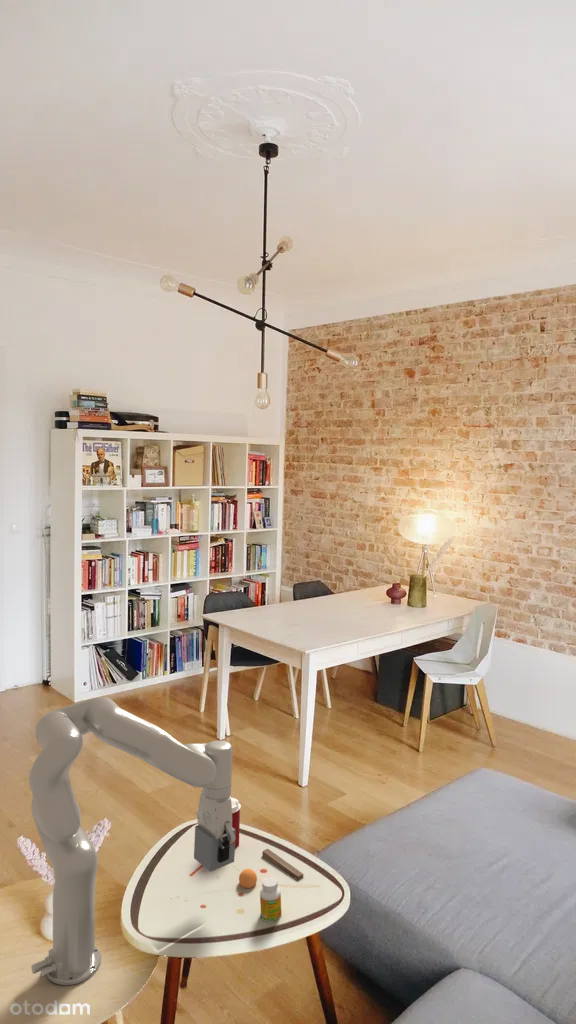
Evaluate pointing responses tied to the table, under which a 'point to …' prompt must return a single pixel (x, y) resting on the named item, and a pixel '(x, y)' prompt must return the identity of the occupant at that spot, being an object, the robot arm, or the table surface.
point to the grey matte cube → (210, 849)
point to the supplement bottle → (270, 900)
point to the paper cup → (236, 818)
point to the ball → (248, 878)
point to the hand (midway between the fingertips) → (214, 852)
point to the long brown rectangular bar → (282, 864)
